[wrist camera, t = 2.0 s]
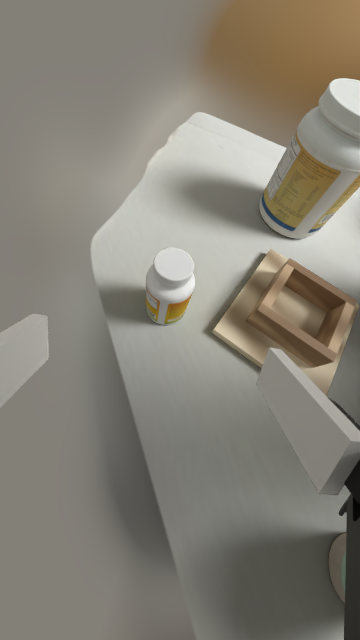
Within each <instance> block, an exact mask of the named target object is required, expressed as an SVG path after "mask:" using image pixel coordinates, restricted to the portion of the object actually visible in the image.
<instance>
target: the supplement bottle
mask: <svg viewBox="0 0 360 640" xmlns="http://www.w3.org/2000/svg"><path fill="white" fill-rule="evenodd" d="M193 270H194V262H193V260H192V258H191V256H190V255H189V254H188V253H187V252H185V251H183V250H181V249H178V248H166V249H163V250H161V251H160V252H158V253H157V255H156V256H155V258H154V264H153V265H152V266H151V267H150V268H149V270H148V272H147V276H146V311H147V314H148V315H149V317H150V318H151V319H152V320H153V321H154V322H156V323H158V324H162V325H170V324H174V323H176V322H178V321H179V320H180V319H181V318H182V317H183V315H184V313H185V310H186V308H187V305H188V303H189V300H190V298H191V295H192V293H193V290H194V286H195V278H194V275H193Z"/></svg>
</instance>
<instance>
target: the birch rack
mask: <svg viewBox="0 0 360 640" xmlns="http://www.w3.org/2000/svg"><path fill="white" fill-rule="evenodd" d="M356 302H357V301H356V300H355V299H353V298H352V297H350V296H349V295H347V294H345V293H344V292H342V291H341V290H339V289H338V288H336V287H334V286H333V285H331V284H330V283H328V282H327V281H325V280H323V279H322V278H320V277H319V276H317V275H315V274H314V273H312V272H311V271H309V270H308V269H306V268H304V267H303V266H301V265H300V264H298V263H297V262H295V261H293V260H292V259H289V260H288V259H286V258H285V257H283V256H281V255H280V254H278V253H277V252H275V251H274V250H272V249H270V251H269V252H268V253H267V255H266V256H265V257H264V259H263V260H262V262H261V263H260V264H259V266H258V267H257V269H256V270H255V272H254V273H253V274H252V276H251V277H250V279H249V280H248V281H247V283H246V284H245V286H244V287H243V288H242V290H241V291H240V293H239V294H238V296H237V297H236V298H235V300H234V301H233V303H232V304H231V305H230V307H229V308H228V310H227V311H226V312H225V314H224V315H223V317H222V318H221V320H220V321H219V322H218V324H217V325H216V327H215V328H214V329H213V331H212V332H211V333H213V334H214V335H216V336H217V337H218V338H220V339H221V340H222V341H224V342H225V343H227V344H228V345H229V346H231V347H232V348H234V349H235V350H236V351H238V352H239V353H241V354H242V355H243V356H245V357H246V358H247V359H249V360H250V361H252V362H253V363H254V364H256V365H257V366H259V367H260V368H261V369H262V366H263V364H264V361H265V358H266V355H267V352H268V350H269V348H276V349H281V350H282V351H283V352H284V353H285V354H286V355H287V356H288V357H289V358H290V359H291V360H292V361H293V362H294V363H295V364H296V365H297V366H298V367H299V368H300V370H301V371H302V372H303V373H304V374H305V375H306V376H307V377H308V378H309V379H310V380H311V381H312V382H313V383H314V384H315V385H316V386H317V387H318V388H319V389H320V390H321V391H322V392H323V393H324V394H325V395H326V396H327V394H328V391H329V389H330V386H331V383H332V380H333V378H334V375H335V372H336V369H337V367H338V364H339V361H340V358H341V356H342V353H343V350H344V347H345V345H346V342H347V339H348V336H349V334H350V331H351V328H352V325H353V323H354V320H355V317H356V314H357V312H358V309H359V306H360V305H358V304H357V303H356Z"/></svg>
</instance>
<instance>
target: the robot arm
mask: <svg viewBox="0 0 360 640" xmlns="http://www.w3.org/2000/svg"><path fill="white" fill-rule="evenodd" d="M48 359H49V345H48V319H47V316H45V315H38V314H32V315H30V316H28V317H26V318H25V319H23V320H21V321H19V322H18V323H16V324H14V325H13V326H11V327H9V328H7V329H6V330H4V331H2V332H0V408H1V407H2V406H3V405H4V404H5V403H6V402H7V401H8V400H9V398H11V396H13V395H14V394H15V392H16V391H17V390H18V389H19V388H20V387H21V386H22V385H23V384H24V383H25V382H26V381H27V380H28V379H29V378H30V377H31V376H32V375H33V374H34V373H35V372H36V371H37V370H38V369H39V368H40V367H41V366H42V365H43V364H44V363H45V362H46V361H47V360H48ZM256 385H257V386H258V388H259V390H260V392H261V393H262V395H263V397H264V399H265V400H266V402H267V404H268V406H269V407H270V409H271V411H272V413H273V414H274V416H275V418H276V420H277V421H278V423H279V425H280V427H281V428H282V430H283V432H284V434H285V435H286V437H287V439H288V440H289V442H290V444H291V446H292V447H293V449H294V451H295V453H296V454H297V456H298V458H299V460H300V461H301V463H302V465H303V467H304V468H305V470H306V472H307V474H308V475H309V477H310V479H311V481H312V482H313V484H314V486H315V488H316V489H317V491H318V493H319V494H329V495H338V493H339V492H340V490H341V489H342V487H343V486H344V484H345V485H346V487H347V488H348V490H349V491H350V493H351V495H350V496H349V497H348V499H347V500H346V502H345V503H344V505H343V506H342V508H341V509H340V511H339V515H341V516H342V515H343V514H344V513H345V512H347V532H346V576H345V619H344V640H360V426H359V425H358V424H357V423H355V421H354V420H353V419H352V418H351V417H350V416H348V414H347V413H346V412H345V411H344V410H343V409H342V408H341V407H340V406H339V405H338V404H337V403H335V402H334V401H333V400H331V399H330V398H328V397H327V396H326V395H325V394H324V393H323V392H322V391H321V390H320V389H319V388H318V387H317V386H316V385H315V384H314V383H313V382H312V381H311V380H310V379H309V378H308V377H307V376H306V375H305V374H304V373H303V372H302V371H301V370H300V368H299V367H298V366H297V365H296V364H295V363H294V362H293V361H292V360H291V359H290V358H289V357H288V356H287V355H286V354H285V353H284V352H283V351H282V350H281V349H276V348H269V350H268V352H267V355H266V358H265V361H264V364H263V366H262V369H261V372H260V375H259V378H258V380H257V383H256Z"/></svg>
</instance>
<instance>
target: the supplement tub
mask: <svg viewBox="0 0 360 640" xmlns="http://www.w3.org/2000/svg"><path fill="white" fill-rule="evenodd" d="M359 187H360V81H359V80H354V79H346V78H345V79H344V78H343V79H336V80H333V81H332V82H331V83H330V84H329V86H328V88H327V89H326V91H325V93H324V94H323V95H322V96H321V98H320V100H319V106H318V107H316V108H314V109H312V110H311V111H310V112H308V113H307V114H306V116H305V117H304V118H303V120H302V121H301V122H300V124H299V126H298V128H297V130H296V132H295V134H294V136H293V138H292V140H291V142H290V143H289V145H288V147H287V149H286V151H285V153H284V155H283V157H282V158H281V160H280V162H279V164H278V166H277V168H276V170H275V172H274V174H273V175H272V177H271V179H270V181H269V183H268V185H267V187H266V189H265V191H264V193H263V194H262V196H261V199H260V204H259V207H260V213H261V215H262V217H263V219H264V221H265V222H266V223H267V224H268V225H269V226H270V227H271V228H272V229H273V230H274V231H276V232H278V233H280V234H281V235H284V236H287V237H290V238H296V239H301V238H306V237H309V236H311V235H313V234H315V233H316V232H318V231H319V230H320V229H321V228H322V226H323V225H324V224H325V223H326V222H327V221H328V220H329V219H330V218H331V217H332V216H333V215H334V214H335V213H336V211H337V210H338V209H339V208H340V207H341V206H342V205H343V204H344V203H345V202H346V201H347V200H348V199H349V198H350V197H351V195H352V194H353V193H354V192H355V191H356V190H357V189H358V188H359Z"/></svg>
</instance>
